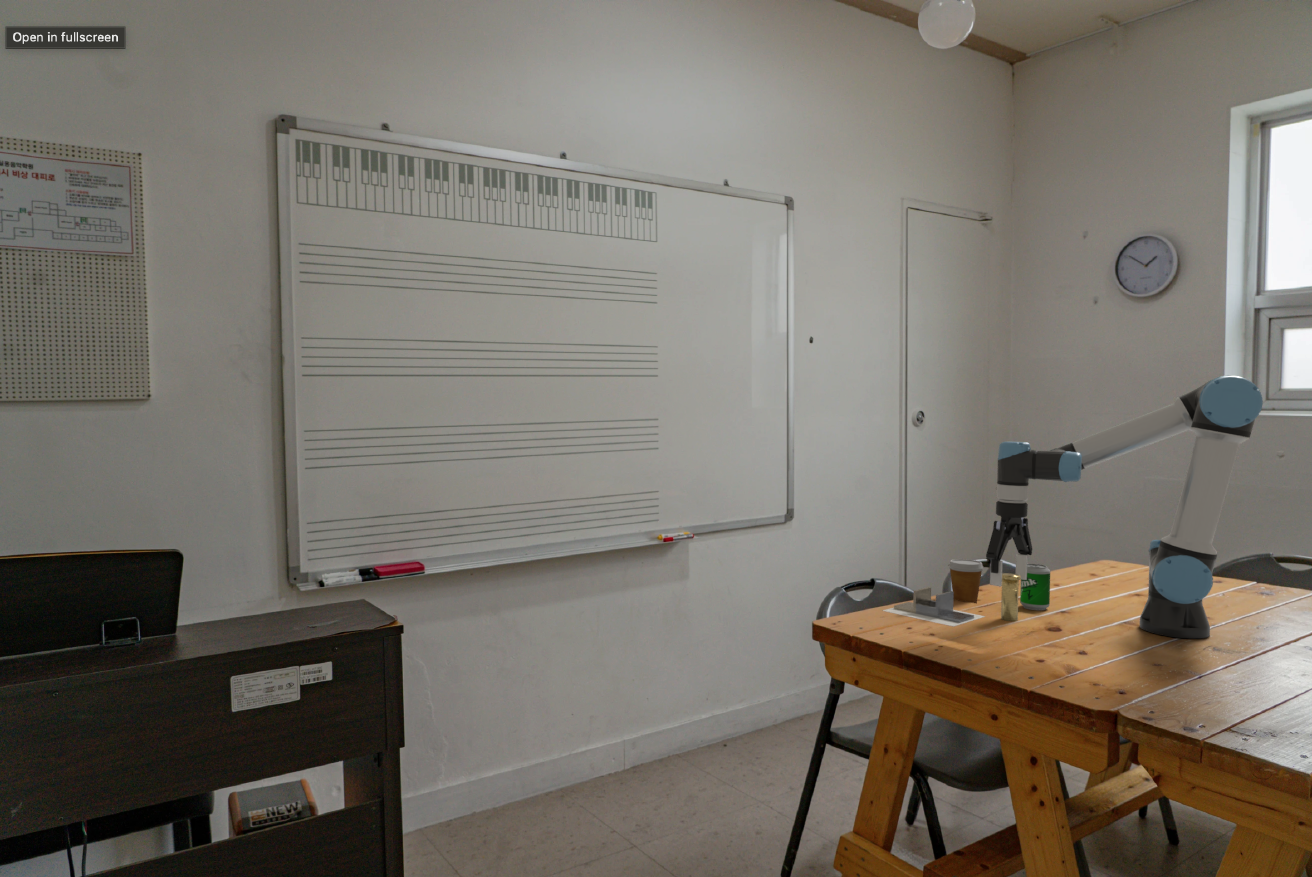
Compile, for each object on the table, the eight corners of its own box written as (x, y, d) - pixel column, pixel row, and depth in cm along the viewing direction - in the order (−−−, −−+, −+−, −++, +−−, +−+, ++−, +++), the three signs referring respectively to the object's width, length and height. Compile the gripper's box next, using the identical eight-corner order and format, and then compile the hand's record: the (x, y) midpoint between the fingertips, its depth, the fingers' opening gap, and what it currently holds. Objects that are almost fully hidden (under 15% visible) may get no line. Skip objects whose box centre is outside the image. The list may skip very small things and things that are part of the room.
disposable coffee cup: (987, 607, 234) (988, 565, 233) (954, 606, 234) (954, 564, 233) (975, 599, 243) (976, 558, 243) (943, 599, 243) (943, 558, 243)
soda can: (1043, 605, 236) (1044, 563, 236) (1053, 611, 229) (1054, 568, 229) (1016, 604, 237) (1017, 562, 237) (1025, 610, 230) (1026, 567, 229)
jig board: (985, 620, 218) (985, 616, 218) (953, 631, 208) (953, 626, 208) (914, 606, 234) (914, 601, 234) (881, 615, 224) (882, 610, 224)
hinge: (974, 618, 216) (974, 595, 216) (959, 623, 211) (960, 599, 211) (908, 604, 231) (909, 583, 230) (893, 608, 226) (894, 586, 226)
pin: (1023, 624, 215) (1024, 575, 215) (1014, 627, 212) (1015, 578, 211) (1004, 620, 219) (1005, 572, 218) (995, 623, 216) (996, 574, 215)
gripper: (1020, 496, 225) (1017, 574, 226) (973, 502, 209) (970, 585, 210) (1048, 499, 219) (1044, 578, 220) (1002, 505, 203) (999, 591, 204)
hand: (1008, 582), depth 215 cm, fingers open, 13 cm apart
